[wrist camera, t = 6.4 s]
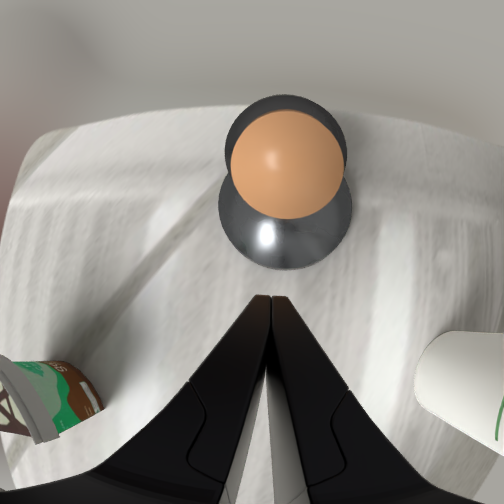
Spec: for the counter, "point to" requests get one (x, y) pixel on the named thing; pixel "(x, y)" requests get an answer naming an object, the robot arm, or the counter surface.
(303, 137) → the button cap
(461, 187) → the counter surface
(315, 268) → the counter surface
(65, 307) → the counter surface
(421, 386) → the cylindrical container
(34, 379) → the food container
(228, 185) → the button post
